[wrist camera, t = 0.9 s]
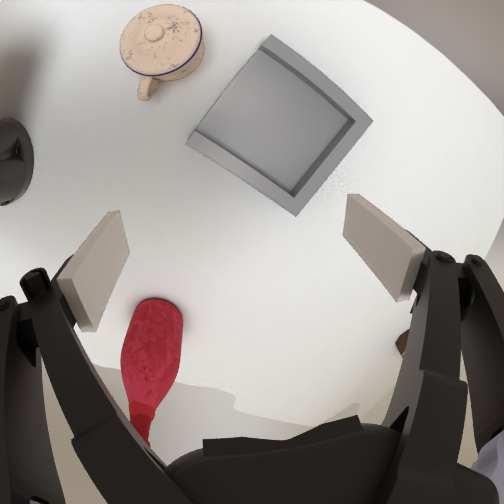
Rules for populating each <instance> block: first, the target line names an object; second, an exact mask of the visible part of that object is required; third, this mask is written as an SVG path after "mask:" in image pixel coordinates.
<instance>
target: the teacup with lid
mask: <svg viewBox="0 0 504 504" xmlns="http://www.w3.org/2000/svg"><path fill="white" fill-rule="evenodd" d="M120 54H121V57H122V60H123V61H124V63H125V64H126V66H127V67H128V68H130V69H131V70H132V71H134V72H136V73H138V74H140V75H143V76H142V78H141V81H140V84H139V87H138V93H137V95H138V98H139V99H140V100H143V101H147V100H149V99H150V98H151V97H152V96H153V95H154V93H155V91H156V89H157V87H158V85H159V83H160V80H163V81H172V80H177V79H180V78H183V77H185V76H187V75H188V74H190V73H191V72H193V71H194V70H195V69H196V68H197V66H198V65H199V63H200V62H201V60H202V57H203V54H204V44H203V40H202V28H201V24H200V22H199V20H198V18H197V17H196V16H195V15H194V14H193V13H192V12H191V11H190V10H188V9H186V8H184V7H181V6H178V5H172V4H164V5H157V6H154V7H151V8H148V9H146V10H144V11H142V12H141V13H139V14H138V15H136V16H135V17H134V18H133V19H132V20H131V21H130V22H129V23H128V25H127V26H126V28H125V29H124V31H123V33H122V36H121V39H120Z"/></svg>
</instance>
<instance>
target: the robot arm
mask: <svg viewBox="0 0 504 504" xmlns="http://www.w3.org/2000/svg"><path fill="white" fill-rule="evenodd" d="M32 172H33V150H32V145H31V141H30V138H29V136H28V134H27V132H26V130H25V128H24V127H23V126H22V125H21V124H20V123H19V122H17V121H16V120H13V119H3V120H0V206H4V205H8V204H10V203H12V202H14V201H15V200H17V199H18V198H20V197H21V196H22V195H23V194H24V193H25V191H26V190H27V188H28V186H29V183H30V180H31V177H32ZM343 237H344V238H345V239H346V240H347V241H348V242H349V244H350V245H351V246H352V247H353V248H354V250H355V251H356V252H357V253H358V254H359V256H360V257H361V258H362V259H363V260H364V262H365V263H366V264H367V265H368V267H369V268H370V269H371V270H372V272H373V273H374V274H375V275H376V277H377V278H378V279H379V280H380V282H381V283H382V284H383V285H384V287H385V288H386V289H387V291H388V292H389V293H390V295H391V296H392V297H393V298H394V300H395V301H396V302H401V301H405V300H409V298H410V296H411V293H412V290H413V289H414V290H415V291H416V293H417V296H416V299H415V301H414V304H413V306H412V309H411V311H410V313H411V314H412V313H413V314H412V320H411V325H410V330H409V335H408V340H407V344H406V349H405V353H404V357H403V361H402V365H401V369H400V372H399V376H398V379H397V383H396V386H395V390H394V393H393V396H392V399H391V402H390V405H389V408H388V411H387V414H386V416H385V419H384V421H383V422H382V424H381V425H377V424H368V423H360V420H359V418H358V415H355V416H352V417H348V418H345V419H340V420H337V421H333V422H328V423H324V424H321V425H319V426H317V427H315V428H313V429H311V430H309V431H307V432H305V433H302V434H300V435H298V436H296V437H293V438H291V439H288V440H267V439H257V438H248V437H235V438H220V439H203V448H202V449H198V450H195V451H192V452H189V453H187V454H185V455H183V456H181V457H179V458H178V459H176V460H175V461H173V462H172V463H171V464H170V465H168V466H166V464H164V462H163V461H162V460H161V459H160V458H159V457H158V456H157V455H156V454H155V453H154V452H153V450H152V449H151V448H150V447H149V446H148V445H147V443H146V442H145V441H144V440H143V438H142V437H141V436H140V435H139V433H138V432H137V431H136V429H135V428H134V427H133V425H132V424H131V423H130V421H129V420H128V419H127V417H126V416H125V415H124V413H123V412H122V410H121V409H120V408H119V406H118V405H117V403H116V402H115V400H114V399H113V397H112V396H111V394H110V393H109V391H108V389H107V388H106V386H105V385H104V383H103V381H102V380H101V378H100V376H99V375H98V374H97V372H96V370H95V368H94V366H93V365H92V363H91V361H90V359H89V357H88V356H87V354H86V352H85V350H84V348H83V346H82V344H81V342H80V340H79V338H78V336H77V334H76V333H75V331H74V329H73V328H74V325H75V323H76V322H77V324H78V326H79V328H80V330H81V332H96V330H97V328H98V325H99V322H100V320H101V317H102V315H103V312H104V310H105V307H106V305H107V303H108V300H109V298H110V295H111V293H112V291H113V289H114V286H115V284H116V282H117V279H118V277H119V275H120V273H121V271H122V269H123V266H124V264H125V262H126V260H127V258H128V256H129V254H130V251H129V247H128V243H127V239H126V235H125V231H124V226H123V222H122V218H121V213H120V210H119V211H112V212H108V213H107V214H106V215H105V216H104V218H103V219H102V220H101V221H100V222H99V223H98V225H97V226H96V227H95V228H94V230H93V231H92V232H91V233H90V235H89V236H88V237H87V238H86V240H85V241H84V242H83V243H82V245H81V246H80V247H79V249H78V250H77V251H76V253H75V254H73V255H72V256H70V257H69V258H68V259H67V260H66V261H65V262H64V263H63V265H62V267H60V269H59V270H58V272H57V273H56V274H55V276H54V277H53V279H52V280H51V282H50V279H49V277H48V275H47V272H46V270H45V269H44V268H36V269H33V270H31V271H29V272H28V273H26V274H25V275H24V276H23V277H22V278H21V280H20V286H21V288H22V290H23V292H24V294H25V296H26V298H27V300H28V302H24V303H21V304H18V303H17V301H16V299H15V297H14V296H6V297H4V298H2V299H1V300H0V504H66V503H65V498H64V495H63V491H62V487H61V484H60V480H59V477H58V473H57V470H56V466H55V462H54V457H53V453H52V448H51V444H50V438H49V433H48V427H47V420H46V413H45V405H44V396H43V384H42V365H41V355H42V358H43V362H44V365H45V368H46V371H47V373H48V376H49V379H50V382H51V384H52V387H53V389H54V392H55V394H56V397H57V399H58V402H59V404H60V406H61V409H62V411H63V413H64V415H65V418H66V419H67V422H68V424H69V426H70V428H71V430H72V432H73V434H74V438H73V439H72V440H71V441H72V445H73V448H74V450H75V452H76V454H77V456H78V458H79V459H80V461H81V463H82V464H83V466H84V468H85V470H86V471H87V473H88V474H89V476H90V478H91V479H92V481H93V483H94V484H95V486H96V487H97V489H98V490H99V492H100V493H101V495H102V496H103V497H104V499H105V500H106V502H107V503H108V504H502V503H503V502H504V292H503V290H502V288H501V286H500V285H499V283H498V281H497V279H496V278H495V276H494V274H493V273H492V271H491V269H490V268H489V266H488V264H487V263H486V262H485V261H484V260H483V259H482V258H481V257H480V256H477V255H472V254H469V255H467V256H466V258H465V261H464V263H456V261H455V259H454V258H453V257H452V256H451V255H449V254H448V253H445V252H443V251H433V252H432V251H431V250H430V249H429V248H428V247H427V246H426V245H424V244H423V243H422V242H421V241H419V239H417V238H416V237H415V236H414V235H413V234H412V233H410V232H409V231H407V230H405V229H403V228H402V227H401V226H400V225H399V224H397V223H396V222H395V221H394V220H392V219H391V218H390V217H389V216H387V215H386V214H385V213H383V212H382V211H381V210H380V209H378V208H377V207H376V206H374V205H373V204H372V203H370V202H369V201H368V200H366V199H365V198H364V197H362V196H361V195H360V194H348V195H347V204H346V213H345V221H344V229H343ZM461 351H462V355H463V360H464V365H465V370H466V375H467V381H468V385H467V383H466V382H464V381H461V380H460V379H459V377H460V358H461ZM468 387H469V393H470V400H471V408H472V418H473V428H474V437H475V442H476V448H477V452H478V460H476V461H475V462H474V463H473V465H472V467H471V469H470V468H467V467H465V466H463V465H461V464H459V463H457V459H458V455H459V450H460V445H461V440H462V434H463V428H464V421H465V414H466V405H467V394H468Z"/></svg>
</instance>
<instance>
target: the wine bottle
mask: <svg viewBox="0 0 504 504" xmlns="http://www.w3.org/2000/svg"><path fill="white" fill-rule="evenodd" d="M182 331H183V320H182V316H181V314H180V312H179V311H178V309H177V308H176V307H175V306H173V305H172V304H170V303H168V302H166V301H163V300H159V299H150V300H146V301H143V302H142V303H140V304H139V305H138V306H137V307H136V309H135V311H134V313H133V316H132V319H131V321H130V324H129V327H128V330H127V333H126V336H125V340H124V343H123V347H122V351H121V373H122V378H123V383H124V387H125V390H126V394H127V397H128V401H129V413H130V423H131V424H132V425H133V427H134V428H135V429H136V431H137V432H138V433H139V435H140V436H141V437H142V438H143V440H144V441H145V442H146V443H147V445H148V446H149V447H150V443H149V441H148V436H149V429H150V425H151V421H152V420H153V419H154V416H155V411H156V409H157V407H158V406H159V404H160V403H161V401H162V400H163V398H164V397H165V396H166V394H167V393H168V391H169V390H170V388H171V386H172V384H173V383H174V380H175V378H176V376H177V373H178V369H179V364H180V356H181V345H182Z"/></svg>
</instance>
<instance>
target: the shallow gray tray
mask: <svg viewBox="0 0 504 504" xmlns="http://www.w3.org/2000/svg"><path fill="white" fill-rule="evenodd" d="M372 122H373V120H372V119H371V118H370V117H369V116H368V115H367V114H366V113H365V112H364V111H363V110H362V109H361V108H360V107H359V106H358V105H357V104H356V103H355V102H354V101H353V100H352V99H351V98H350V97H349V96H348V95H347V94H346V93H345V92H344V91H343V90H341V89H340V88H339V87H338V86H337V85H336V84H335V83H334V82H333V81H331V80H330V79H329V78H328V77H327V76H326V75H324V74H323V73H322V72H321V71H320V70H318V69H317V68H316V67H315V66H313V65H312V64H311V63H310V62H308V61H307V60H306V59H305V58H303V57H302V56H301V55H299V54H298V53H297V52H295V51H294V50H293V49H291V48H290V47H289V46H287V45H286V44H284V43H283V42H282V41H280V40H279V39H277V38H276V37H274V36H273V35H270V36H269V37H268V38H267V39H266V41H265V42H264V43H263V44H262V45H261V46H260V48H259V49H258V50H257V52H256V53H255V54H254V55H253V56H252V57H251V58H250V60H249V61H248V62H247V63H246V64H245V66H244V67H243V68H242V69H241V70H240V72H239V73H238V74H237V75H236V76H235V78H234V79H233V80H232V81H231V83H230V84H229V85H228V87H227V88H226V89H225V90H224V92H223V93H222V94H221V96H220V97H219V98H218V100H217V101H216V102H215V104H214V105H213V106H212V108H211V109H210V110H209V112H208V113H207V114H206V116H205V117H204V119H203V120H202V121H201V123H200V124H199V126H198V127H197V129H196V130H194V132H193V133H192V135H191V136H190V138H189V139H188V141H187V142H186V144H187V145H188V146H190V147H192V148H193V149H195V150H196V151H198V152H200V153H201V154H203V155H204V156H206V157H208V158H209V159H211V160H212V161H214V162H215V163H217V164H219V165H220V166H222V167H223V168H225V169H226V170H228V171H229V172H231V173H232V174H234V175H236V176H237V177H239V178H240V179H242V180H243V181H245V182H246V183H248V184H249V185H251V186H252V187H254V188H255V189H257V190H258V191H259V192H261V193H262V194H264V195H265V196H267V197H268V198H270V199H271V200H273V201H274V202H276V203H277V204H278V205H280V206H281V207H283V208H284V209H286V210H287V211H288V212H290V213H291V214H293V215H294V216H295V217H296V216H297V215H298V214H299V213H300V211H301V210H302V209H303V208H304V206H305V205H306V204H307V203H308V202H309V200H310V199H311V198H312V197H313V195H314V194H315V193H316V192H317V190H318V189H319V188H320V187H321V186H322V184H323V183H324V182H325V181H326V179H327V178H328V177H329V176H330V174H331V173H332V172H333V171H334V170H335V168H336V167H337V166H338V165H339V163H340V162H341V161H342V160H343V158H344V157H345V156H346V155H347V153H348V152H349V151H350V150H351V148H352V147H353V146H354V145H355V143H356V142H357V141H358V140H359V138H360V137H361V136H362V135H363V133H364V132H365V131H366V130H367V128H368V127H369V126H370V125H371V123H372Z"/></svg>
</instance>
